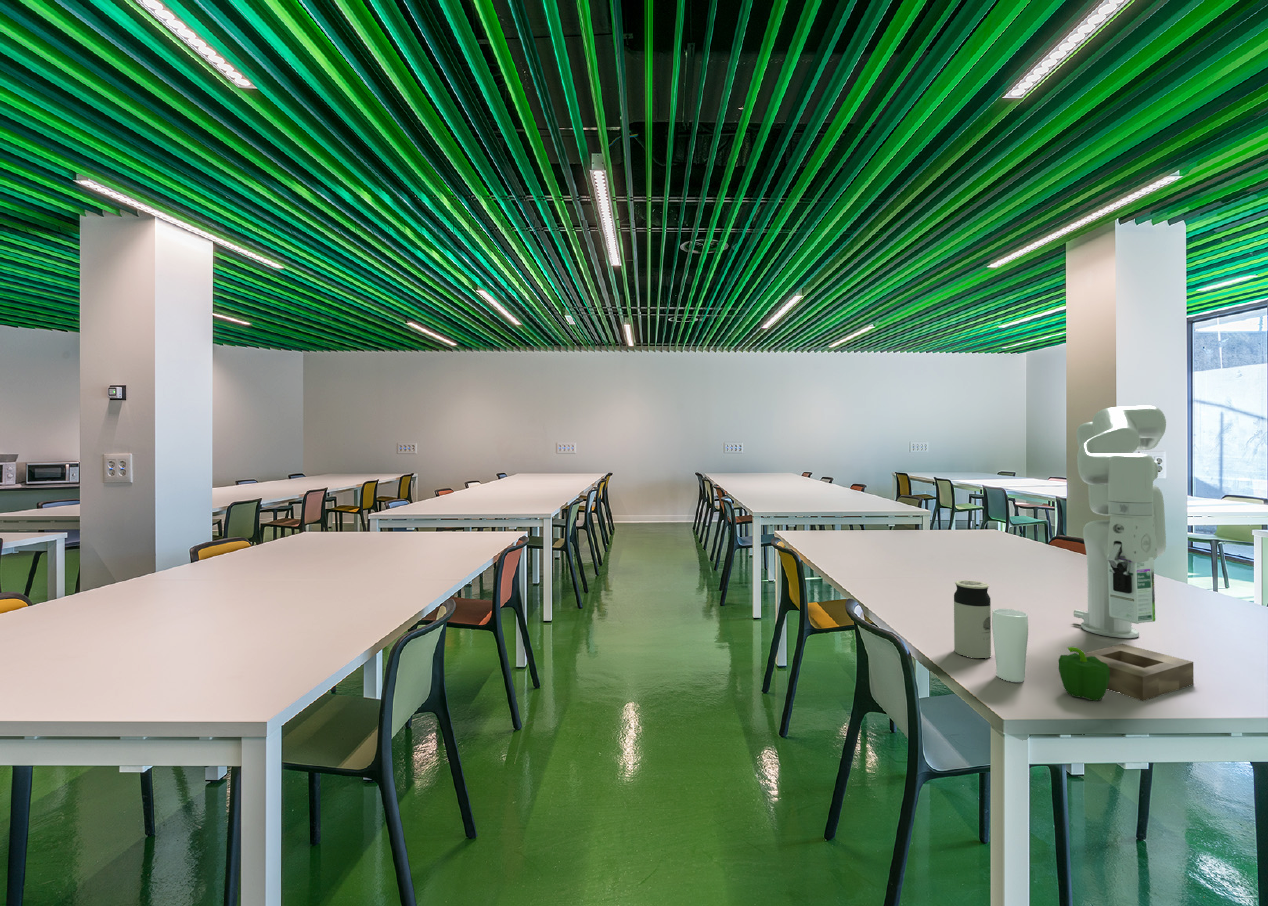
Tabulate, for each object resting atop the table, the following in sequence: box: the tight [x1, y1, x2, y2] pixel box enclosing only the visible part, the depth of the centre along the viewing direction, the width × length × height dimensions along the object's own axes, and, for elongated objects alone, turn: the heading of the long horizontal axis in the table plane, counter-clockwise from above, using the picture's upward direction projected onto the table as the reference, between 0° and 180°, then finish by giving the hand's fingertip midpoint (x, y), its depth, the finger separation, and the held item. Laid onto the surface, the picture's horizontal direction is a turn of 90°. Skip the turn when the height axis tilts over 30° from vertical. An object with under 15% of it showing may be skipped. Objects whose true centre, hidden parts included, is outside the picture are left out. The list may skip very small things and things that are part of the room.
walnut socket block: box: [1084, 643, 1195, 702], centre depth 125 cm, size 13×20×5 cm, turn 113°
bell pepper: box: [1058, 646, 1110, 701], centre depth 118 cm, size 8×8×10 cm
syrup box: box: [1108, 555, 1156, 625], centre depth 125 cm, size 6×6×14 cm
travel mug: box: [953, 579, 992, 659], centre depth 142 cm, size 8×8×18 cm
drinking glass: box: [991, 608, 1029, 683], centre depth 127 cm, size 7×7×15 cm
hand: (1131, 589), depth 125 cm, fingers closed on syrup box, 6 cm apart
